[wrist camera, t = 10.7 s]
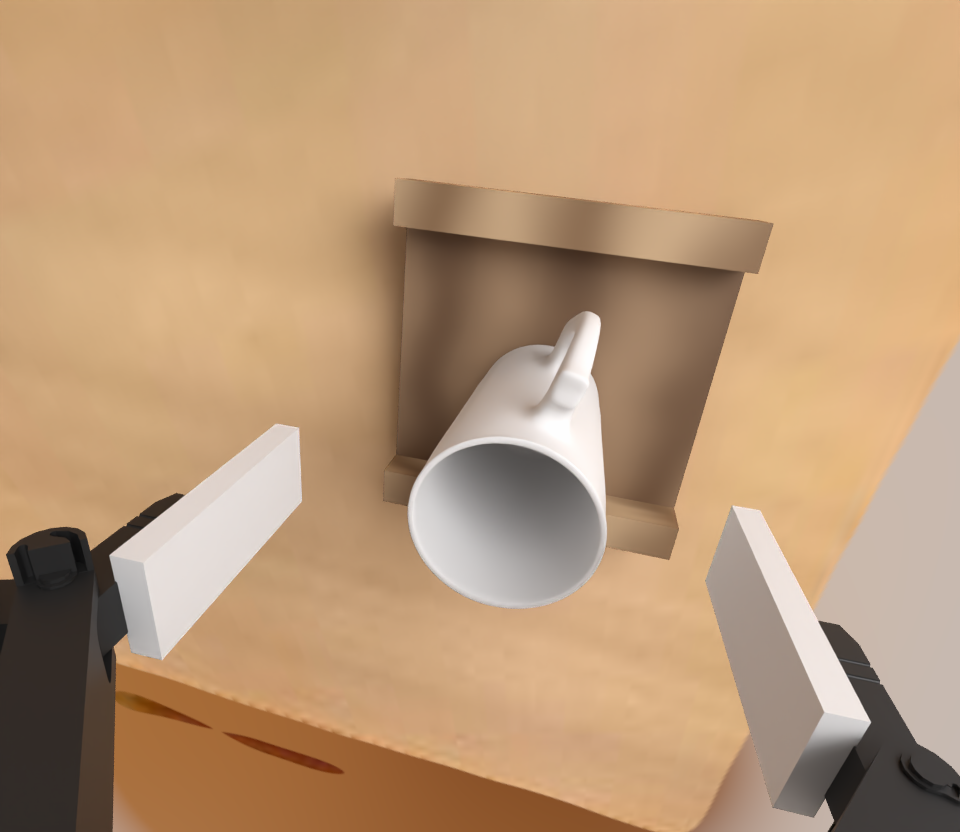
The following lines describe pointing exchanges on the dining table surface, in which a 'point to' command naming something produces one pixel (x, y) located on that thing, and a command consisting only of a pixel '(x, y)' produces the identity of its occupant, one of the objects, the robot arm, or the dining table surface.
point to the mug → (519, 479)
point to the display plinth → (546, 310)
